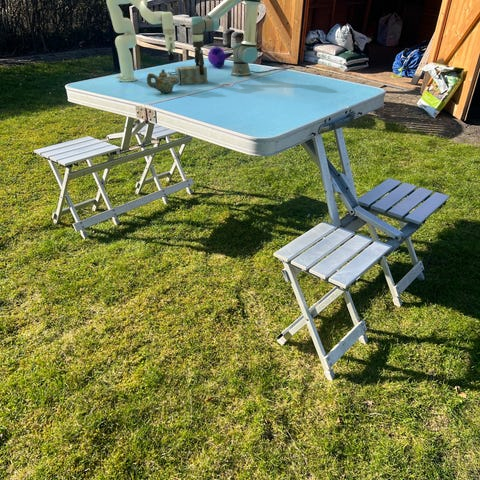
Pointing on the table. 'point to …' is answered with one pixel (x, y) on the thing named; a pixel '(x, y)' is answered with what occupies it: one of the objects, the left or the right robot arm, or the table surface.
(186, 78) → the cabinet
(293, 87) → the table surface
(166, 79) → the teapot
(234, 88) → the table surface
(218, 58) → the toy
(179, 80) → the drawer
